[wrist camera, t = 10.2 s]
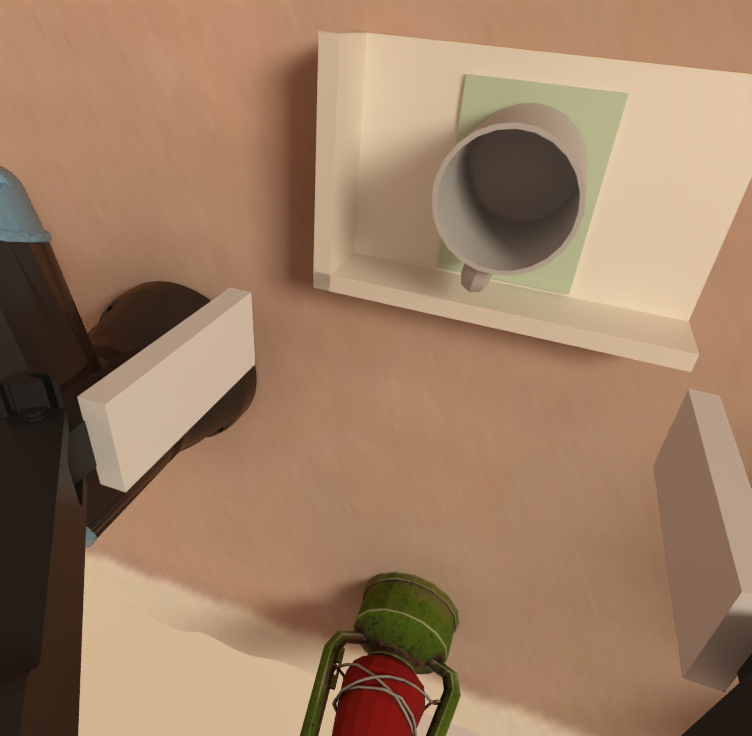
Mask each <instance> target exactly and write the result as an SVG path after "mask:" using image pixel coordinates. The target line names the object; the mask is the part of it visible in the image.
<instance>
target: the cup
mask: <svg viewBox="0 0 752 736" xmlns="http://www.w3.org/2000/svg"><path fill="white" fill-rule="evenodd" d="M587 168H588V157H587V152H586V146H585V142H584V140H583V138H582V136H581V134H580V132H579V130H578V128H577V126H576V125H575V124H574V123H573V122H572V121H571V120H570V119H569V118H568V117H567V116H566V115H565V114H564V113H562V112H560V111H558V110H557V109H555V108H553V107H551V106H548V105H543V104H538V103H524V104H516V105H513V106H510V107H507V108H505V109H502V110H499V111H498V112H496V113H495V114H493V115H492V116H491V117H489V118H488V119H486V120H485V121H484V122H482V123H481V124H480V125H479V126H478V127H476V128H475V129H474V130H473V131H472V132H470V133H469V134H468V135H467V136H466V137H464V138H463V139H462V140H461V141H460V142H459V143H458V144H457V145H456V146H455V147H454V148H453V149H452V151H451V152H450V153H449V154H448V155H447V156H446V158H445V159H444V161H443V163H442V165H441V167H440V169H439V171H438V173H437V175H436V177H435V182H434V187H433V192H432V213H433V218H434V221H435V224H436V228H437V231H438V234H439V235H440V237H441V238H442V240H443V242H444V243H445V245H446V246H447V248H448V249H449V250H450V251H451V252H452V253H453V254H454V255H455V256H456V257H457V258H458V259H459V260H460V261H461V262H463V263H464V266H463V268H462V271H461V285H462V286H463V287H464V288H465V289H466V290H467V291H468V292H480V291H482V290H483V289H484V288H485V287H486V286H487V285H488V283H489V281H490V279H491V277H492V275H509V276H514V275H519V274H523V273H528V272H532V271H534V270H536V269H538V268H540V267H542V266H544V265H546V264H548V263H550V262H551V261H553V260H554V259H555V258H556V257H557V256H558V255H560V254H561V253H562V252H563V251H564V250H565V249H566V248H567V247H568V245H569V244H570V242H571V241H572V239H573V238H574V237H575V235H576V234H577V232H578V229H579V227H580V224H581V221H582V218H583V216H584V212H585V201H586V187H587Z"/></svg>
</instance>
